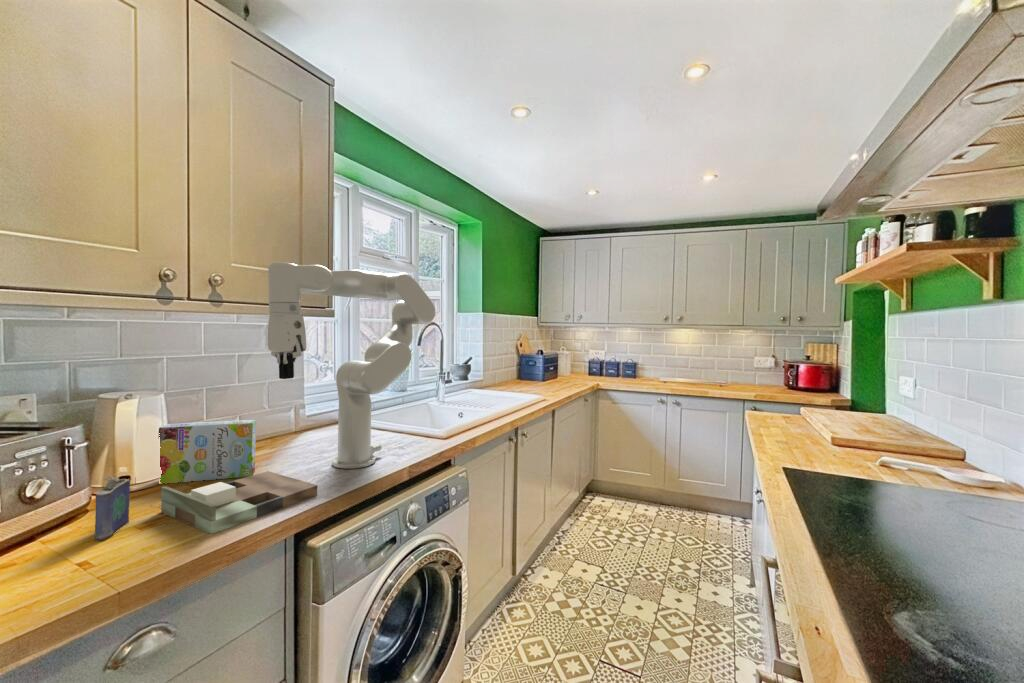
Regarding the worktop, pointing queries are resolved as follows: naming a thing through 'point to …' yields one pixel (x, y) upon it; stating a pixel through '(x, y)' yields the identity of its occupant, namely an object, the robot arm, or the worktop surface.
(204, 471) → the snack box
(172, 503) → the box
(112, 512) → the flask
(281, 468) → the worktop surface
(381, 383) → the robot arm
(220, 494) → the block
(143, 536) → the worktop surface
